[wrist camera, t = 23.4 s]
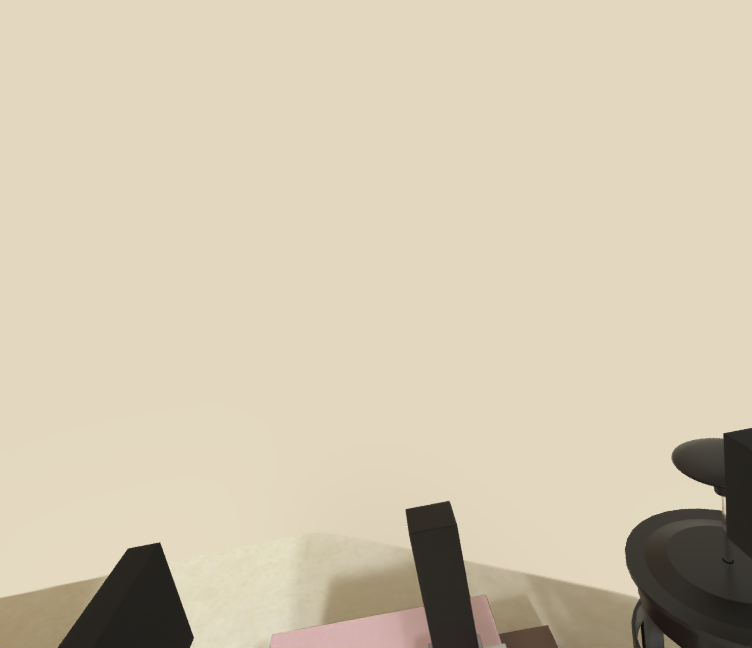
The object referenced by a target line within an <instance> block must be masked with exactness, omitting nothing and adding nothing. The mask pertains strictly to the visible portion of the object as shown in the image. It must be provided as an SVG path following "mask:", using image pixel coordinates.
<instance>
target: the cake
mask: <svg viewBox="0 0 752 648" xmlns="http://www.w3.org/2000/svg"><path fill="white" fill-rule="evenodd" d="M470 600H471V606H472V611H473V617H474V622H475V628H476V633H477V634H479V635H480V638H481V641H482V645H483V647H488V646H493V645H499V644H502V643H501V640H500V637H499V634H498V631H497V628H496V625H495V622H494V619H493V616H492V613H491V609H490V606H489V603H488V600H487V597H486V595H482V596H477V597H471V598H470ZM428 643H431V638H430V633H429V628H428V623H427V619H426V614H425V609H424V606H423V607H418V608H412V609H407V610H402V611H396V612H391V613H386V614H380V615H375V616H370V617H364V618H359V619H353V620H348V621H343V622H337V623H332V624H327V625H321V626H316V627H310V628H305V629H300V630H294V631H289V632H284V633H278V634H273V635H272V640H271V644H270V648H428Z"/></svg>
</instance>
